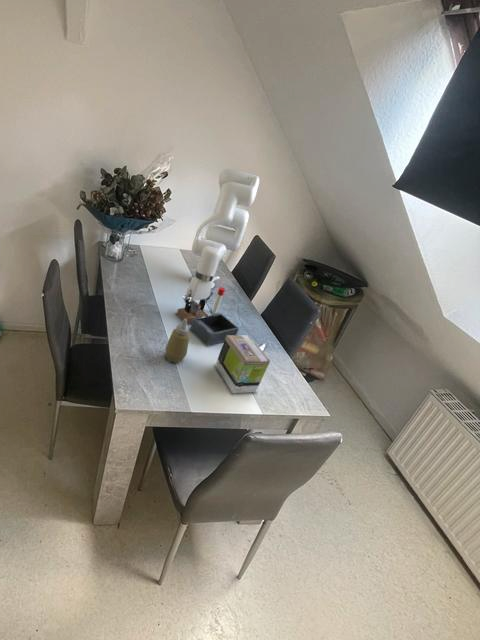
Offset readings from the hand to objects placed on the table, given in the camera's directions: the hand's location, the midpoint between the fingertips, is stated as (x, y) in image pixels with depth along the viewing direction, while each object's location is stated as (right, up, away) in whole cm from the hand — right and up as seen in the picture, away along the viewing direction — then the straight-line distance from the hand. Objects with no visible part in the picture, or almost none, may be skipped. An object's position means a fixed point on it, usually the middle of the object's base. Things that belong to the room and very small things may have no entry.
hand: (193, 309), depth 171 cm
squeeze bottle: (-12, -18, -25) cm, 33 cm away
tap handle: (0, -1, 0) cm, 1 cm away
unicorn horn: (+21, -19, -16) cm, 33 cm away
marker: (+11, -1, +9) cm, 15 cm away
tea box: (+9, -25, -29) cm, 40 cm away
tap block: (-1, -3, +2) cm, 4 cm away
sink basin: (+7, -10, -7) cm, 14 cm away
